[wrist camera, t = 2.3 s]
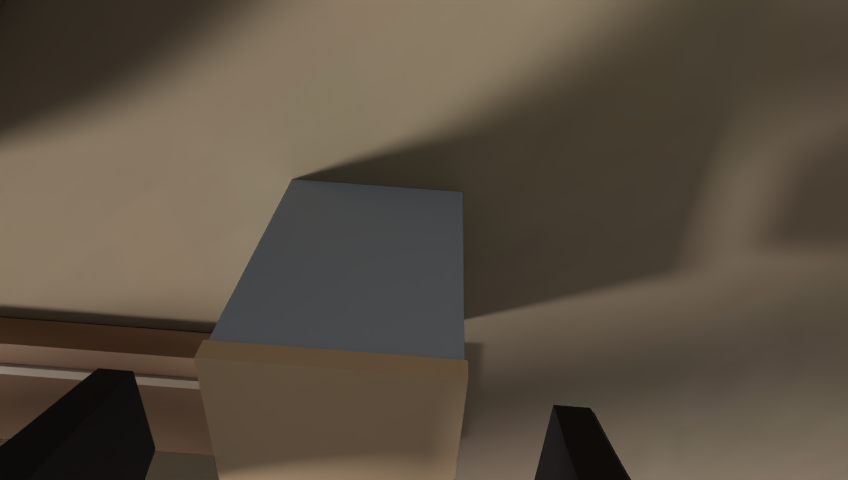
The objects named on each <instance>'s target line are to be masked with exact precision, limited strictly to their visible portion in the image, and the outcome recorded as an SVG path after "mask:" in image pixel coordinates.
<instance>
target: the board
mask: <svg viewBox="0 0 848 480" xmlns="http://www.w3.org/2000/svg"><path fill="white" fill-rule="evenodd" d="M210 336H211V333H198V332H185V331H172V330H159V329H146V328H133V327H120V326H108V325H95V324H82V323H69V322H56V321H43V320H30V319H17V318H4V317H0V439H10V438H12V437H13V436H14V435H15V434H17V433H18V432H19V431H20V430H22V429H23V428H24V427H25V426H27V425H28V424H29V423H30V422H32V421H33V420H34V419H35V418H37V417H38V416H39V415H40V414H42V413H43V412H44V411H45V410H47V409H48V408H49V407H50V406H51V405H53V404H54V403H55V402H56V401H58V400H59V399H60V398H61V397H63V396H64V395H65V394H66V393H68V392H69V391H70V390H71V389H73V388H74V387H75V386H76V385H77V384H79V383H80V382H81V381H82V380H84V379H85V378H86V377H88V376H89V375H90V374H91V373H93V372H94V371H95V370H97V369H98V368H103V369H115V370H128V371H133V372H134V375H135V379H136V382H137V385H138V389H139V392H140V396H141V399H142V403H143V406H144V410H145V413H146V417H147V420H148V424H149V427H150V431H151V434H152V437H153V441H154V444H155V448H156V449H155V451H161V452H174V453H186V454H199V455H212V456H214V453H213V448H212V444H211V439H210V434H209V429H208V424H207V419H206V415H205V410H204V405H203V400H202V395H201V390H200V386H199V381H198V376H197V371H196V366H195V361H194V357H195V355H196V353H197V351H198V349H199V347H200V345H201V343H202V342H203V340H209V338H210Z"/></svg>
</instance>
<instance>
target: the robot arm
mask: <svg viewBox="0 0 848 480" xmlns="http://www.w3.org/2000/svg"><path fill="white" fill-rule="evenodd" d="M155 449H156V448H155V444H154V441H153V437H152V434H151V431H150V427H149V424H148V420H147V417H146V413H145V410H144V406H143V403H142V399H141V396H140V392H139V389H138V385H137V382H136V379H135V375H134V372H133V371H128V370H115V369H103V368H98V369H97V370H95V371H94V372H93V373H91V374H90V375H89V376H88V377H86V378H85V379H84V380H82V381H81V382H80V383H79V384H77V385H76V386H75V387H74V388H73V389H71V390H70V391H69V392H68V393H66V394H65V395H64V396H63V397H61V398H60V399H59V400H58V401H56V402H55V403H54V404H53V405H51V406H50V407H49V408H48V409H47V410H45V411H44V412H43V413H42V414H40V415H39V416H38V417H37V418H35V419H34V420H33V421H32V422H30V423H29V424H28V425H27V426H25V427H24V428H23V429H22V430H20V431H19V432H18V433H17V434H15V435H14V436H13V437H12V438H10V439H9V440H8V441H7V442H5V443H4V444H3V445H1V446H0V480H145V477H146V474H147V472H148V469H149V466H150V463H151V460H152V458H153V455H154V452H155ZM535 480H631V479H630V477H629V476H628V474H627V472H626V470H625V469H624V467H623V465H622V463H621V462H620V460H619V458H618V456H617V455H616V453H615V451H614V449H613V447H612V445H611V444H610V442H609V440H608V438H607V436H606V434H605V432H604V431H603V429H602V427H601V425H600V423H599V421H598V419H597V417H596V415H595V413H594V412H593V411H592V410H591V409H590V408H584V407H572V406H559V405H554V406H553V409H552V413H551V417H550V421H549V425H548V429H547V433H546V437H545V441H544V445H543V449H542V452H541V456H540V460H539V464H538V468H537V472H536V476H535Z"/></svg>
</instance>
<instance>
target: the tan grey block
mask: <svg viewBox="0 0 848 480" xmlns="http://www.w3.org/2000/svg"><path fill="white" fill-rule="evenodd" d="M194 361H195V366H196V371H197V376H198V381H199V386H200V390H201V395H202V400H203V405H204V410H205V415H206V419H207V424H208V429H209V434H210V439H211V444H212V448H213V453H214V458H215V463H216V468H217V473H218V477H219V480H455V474H456V466H457V459H458V452H459V445H460V437H461V430H462V423H463V416H464V408H465V401H466V394H467V387H468V360H465V353H464V265H463V192H457V191H444V190H431V189H417V188H404V187H390V186H377V185H363V184H350V183H337V182H323V181H310V180H296V179H292V180H291V182H290V184H289V186H288V188H287V190H286V192H285V194H284V196H283V198H282V199H281V201H280V203H279V205H278V207H277V209H276V211H275V213H274V215H273V217H272V219H271V221H270V222H269V224H268V226H267V228H266V230H265V232H264V234H263V236H262V238H261V240H260V242H259V244H258V246H257V247H256V249H255V251H254V253H253V255H252V257H251V259H250V261H249V263H248V265H247V267H246V269H245V271H244V272H243V274H242V276H241V278H240V280H239V282H238V284H237V286H236V288H235V290H234V292H233V294H232V296H231V297H230V299H229V301H228V303H227V305H226V307H225V309H224V311H223V313H222V315H221V317H220V319H219V320H218V322H217V324H216V326H215V328H214V330H213V332H212V334H211V336H210V338H209V340H203V342H202V343H201V345H200V347H199V349H198V351H197V353H196V355H195V357H194Z"/></svg>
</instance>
